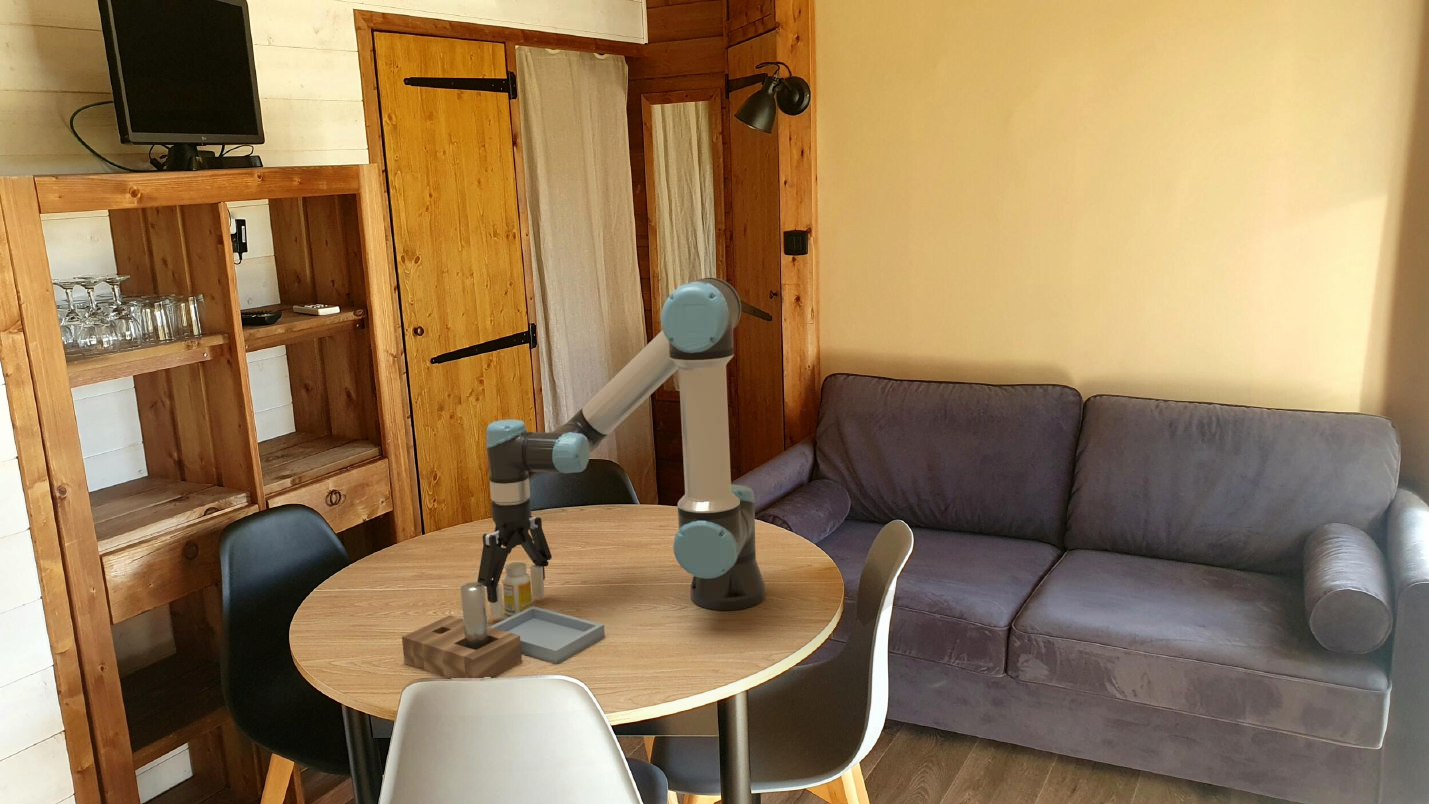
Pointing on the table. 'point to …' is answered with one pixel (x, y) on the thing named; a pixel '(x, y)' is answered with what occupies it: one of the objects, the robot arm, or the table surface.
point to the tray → (551, 633)
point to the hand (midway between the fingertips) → (518, 606)
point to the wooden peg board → (460, 650)
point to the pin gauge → (474, 615)
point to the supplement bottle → (516, 589)
